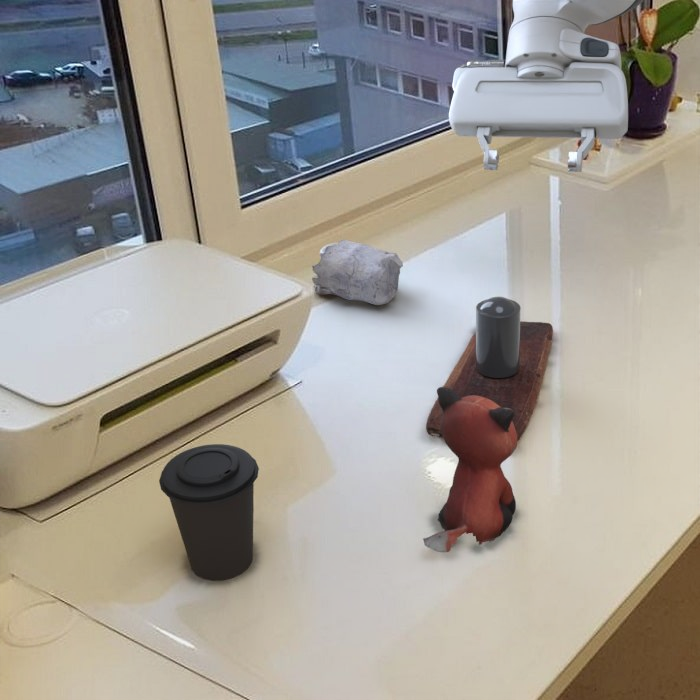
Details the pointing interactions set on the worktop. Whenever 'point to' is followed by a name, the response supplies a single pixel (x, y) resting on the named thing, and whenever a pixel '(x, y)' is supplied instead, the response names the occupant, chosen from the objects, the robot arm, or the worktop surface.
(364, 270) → the stone
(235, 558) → the coffee cup
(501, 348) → the dome-topped grey canister
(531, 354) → the wooden tablet
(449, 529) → the stuffed fox
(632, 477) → the worktop surface
